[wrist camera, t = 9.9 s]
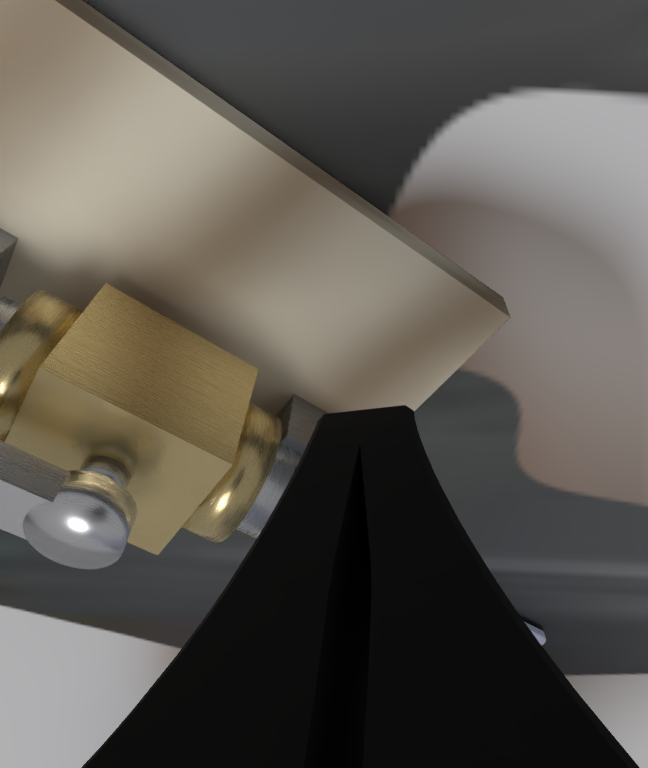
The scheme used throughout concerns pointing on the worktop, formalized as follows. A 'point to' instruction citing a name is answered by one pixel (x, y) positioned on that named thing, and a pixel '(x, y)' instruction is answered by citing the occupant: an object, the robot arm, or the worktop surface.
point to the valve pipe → (145, 412)
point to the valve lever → (64, 510)
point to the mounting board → (214, 223)
